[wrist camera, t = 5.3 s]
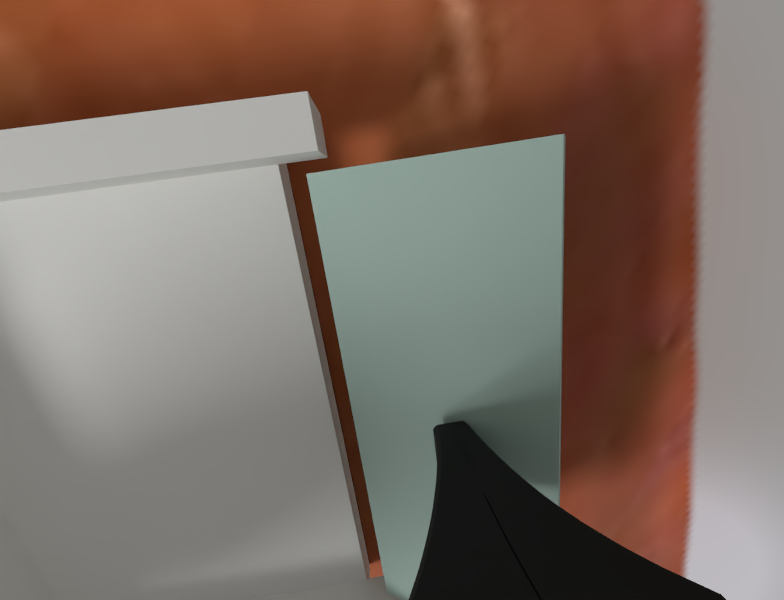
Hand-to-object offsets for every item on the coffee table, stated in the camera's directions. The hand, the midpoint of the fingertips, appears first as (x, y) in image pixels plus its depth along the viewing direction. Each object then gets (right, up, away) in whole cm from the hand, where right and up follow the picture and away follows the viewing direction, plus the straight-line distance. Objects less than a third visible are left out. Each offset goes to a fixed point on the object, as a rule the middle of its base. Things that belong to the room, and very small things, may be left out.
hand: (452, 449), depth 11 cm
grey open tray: (-11, 0, +4) cm, 12 cm away
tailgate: (-3, +1, +3) cm, 4 cm away
